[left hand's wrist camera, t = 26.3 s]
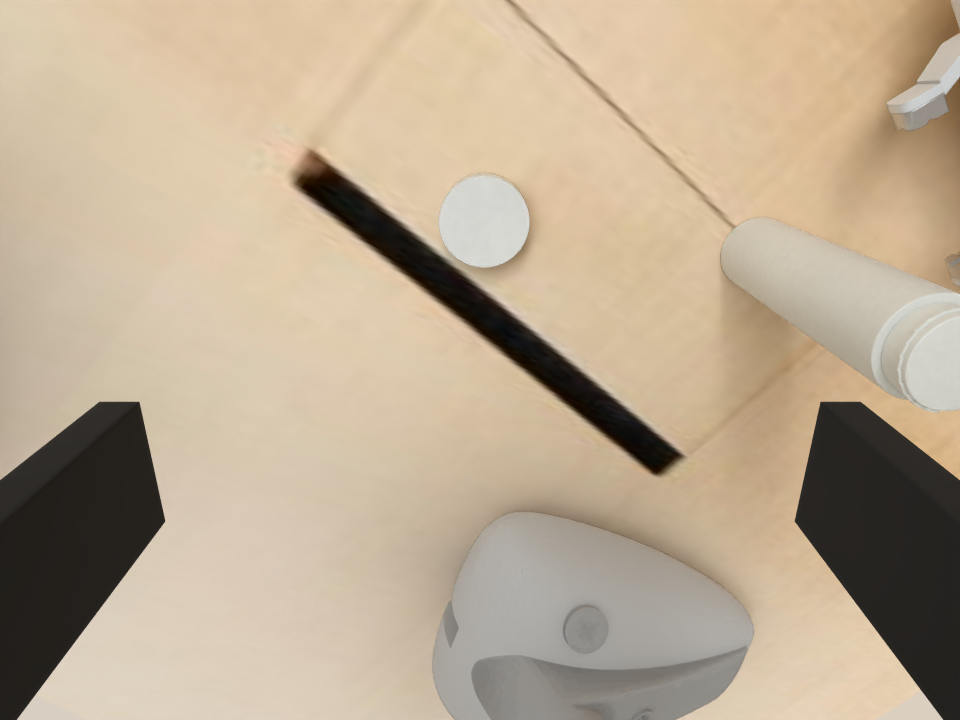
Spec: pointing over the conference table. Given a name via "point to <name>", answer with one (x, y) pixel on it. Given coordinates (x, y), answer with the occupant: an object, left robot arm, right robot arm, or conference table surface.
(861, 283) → the off-white tall cylinder
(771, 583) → the conference table surface
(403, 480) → the conference table surface
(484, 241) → the lid
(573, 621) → the projector
